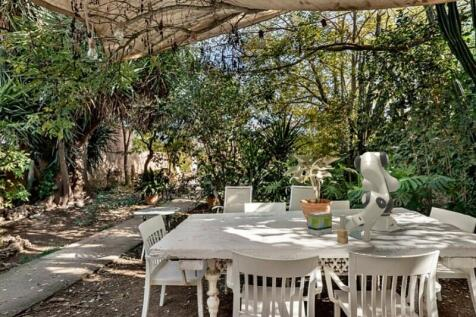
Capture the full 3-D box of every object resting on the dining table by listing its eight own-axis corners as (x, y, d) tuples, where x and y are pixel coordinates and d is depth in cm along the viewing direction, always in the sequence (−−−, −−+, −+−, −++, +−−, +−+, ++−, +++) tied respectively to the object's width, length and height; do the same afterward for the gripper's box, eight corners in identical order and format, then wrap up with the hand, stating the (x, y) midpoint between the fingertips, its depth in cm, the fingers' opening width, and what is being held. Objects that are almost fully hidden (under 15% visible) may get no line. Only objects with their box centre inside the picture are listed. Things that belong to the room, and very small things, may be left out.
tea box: (318, 236, 255) (318, 214, 254) (307, 233, 263) (307, 212, 262) (332, 232, 263) (332, 212, 263) (321, 230, 271) (321, 210, 271)
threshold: (349, 234, 256) (349, 234, 256) (364, 238, 244) (364, 238, 244) (346, 235, 255) (346, 234, 255) (361, 239, 243) (361, 238, 243)
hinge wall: (342, 233, 262) (342, 215, 262) (346, 233, 259) (345, 215, 259) (339, 233, 261) (339, 215, 261) (343, 234, 258) (342, 216, 258)
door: (343, 233, 257) (343, 218, 257) (346, 233, 258) (346, 217, 258) (358, 239, 241) (357, 222, 241) (361, 238, 242) (361, 222, 242)
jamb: (367, 239, 242) (367, 220, 242) (370, 240, 240) (370, 220, 240) (363, 240, 241) (363, 220, 240) (366, 241, 238) (366, 221, 238)
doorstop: (342, 241, 238) (342, 229, 238) (348, 243, 234) (348, 230, 233) (337, 242, 236) (337, 230, 235) (343, 244, 231) (343, 231, 231)
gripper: (376, 213, 223) (363, 226, 232) (350, 216, 214) (339, 229, 223) (382, 221, 219) (369, 234, 228) (356, 225, 210) (344, 238, 219)
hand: (354, 232), depth 225 cm, fingers open, 8 cm apart
